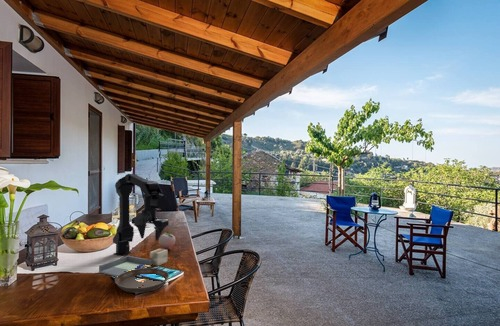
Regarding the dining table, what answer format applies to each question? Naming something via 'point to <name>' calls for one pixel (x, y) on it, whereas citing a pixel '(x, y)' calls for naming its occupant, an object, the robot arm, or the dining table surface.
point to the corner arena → (122, 265)
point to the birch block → (159, 256)
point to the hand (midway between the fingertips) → (149, 239)
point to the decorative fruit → (167, 240)
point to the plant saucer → (130, 284)
